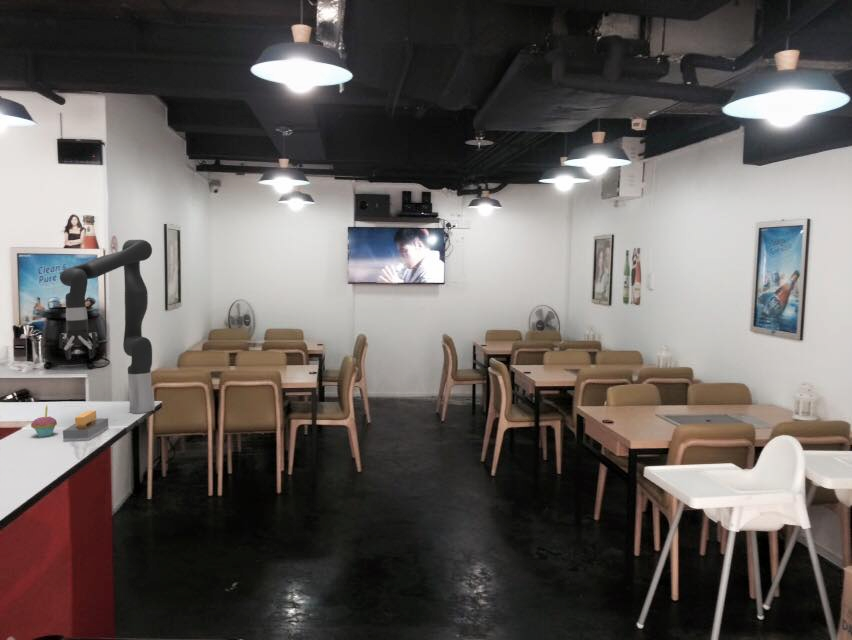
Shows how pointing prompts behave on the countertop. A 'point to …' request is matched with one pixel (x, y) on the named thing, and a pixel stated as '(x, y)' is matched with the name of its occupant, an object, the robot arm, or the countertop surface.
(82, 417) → the orange arch block
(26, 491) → the countertop surface
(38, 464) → the countertop surface
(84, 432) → the metal panel
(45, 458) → the countertop surface
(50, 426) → the cupcake
